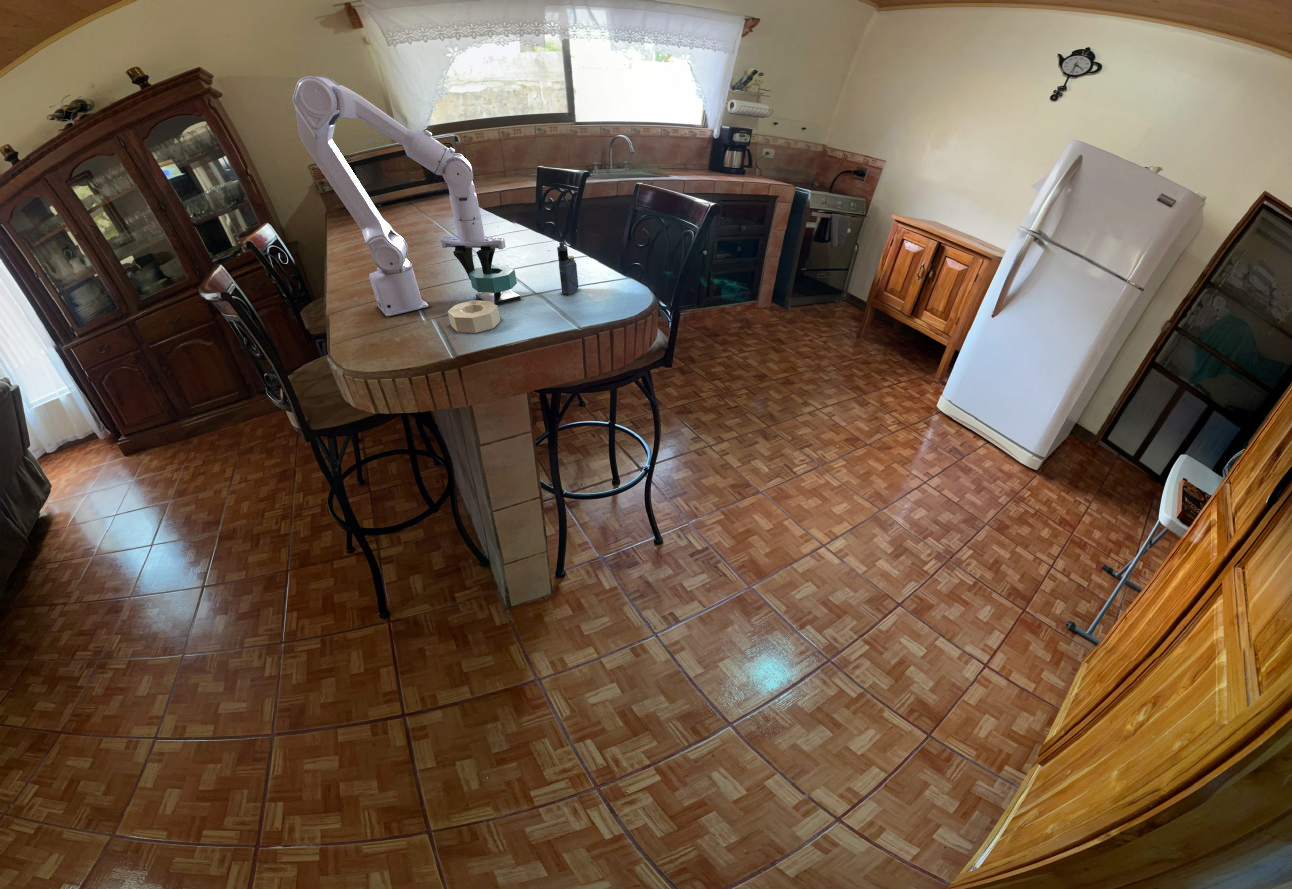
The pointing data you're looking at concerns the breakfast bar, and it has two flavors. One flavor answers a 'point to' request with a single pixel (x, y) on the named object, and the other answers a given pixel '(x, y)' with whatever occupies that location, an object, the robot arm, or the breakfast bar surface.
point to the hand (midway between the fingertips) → (480, 279)
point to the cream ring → (474, 316)
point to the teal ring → (493, 279)
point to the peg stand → (499, 296)
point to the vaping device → (567, 271)
